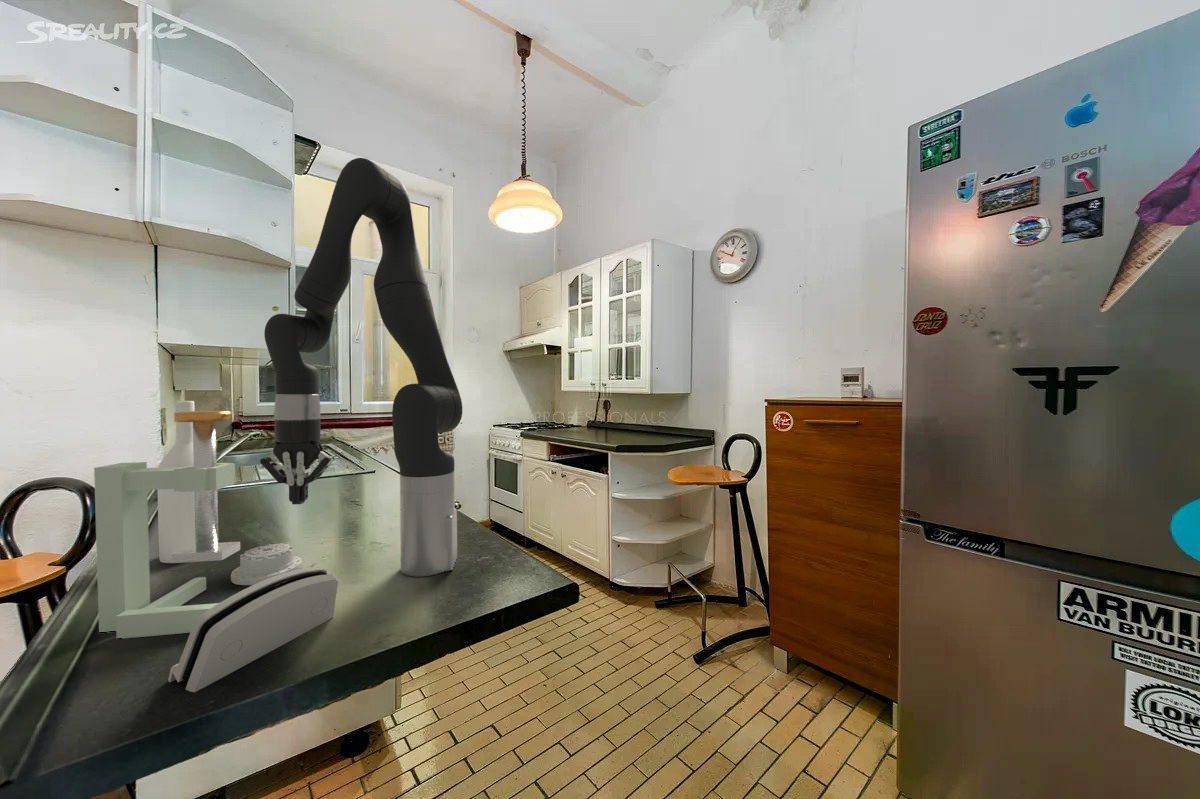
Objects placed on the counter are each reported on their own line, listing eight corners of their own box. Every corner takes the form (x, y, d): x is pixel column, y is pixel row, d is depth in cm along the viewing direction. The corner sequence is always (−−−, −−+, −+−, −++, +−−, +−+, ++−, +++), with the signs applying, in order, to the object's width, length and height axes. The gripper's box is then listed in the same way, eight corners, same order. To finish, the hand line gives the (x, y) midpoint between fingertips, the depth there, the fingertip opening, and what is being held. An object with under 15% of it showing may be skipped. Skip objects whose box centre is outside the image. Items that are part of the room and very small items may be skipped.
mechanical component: (215, 584, 73) (264, 589, 71) (214, 558, 73) (263, 563, 71) (271, 561, 83) (315, 565, 81) (270, 538, 83) (315, 541, 81)
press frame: (305, 582, 73) (303, 451, 73) (255, 626, 59) (252, 465, 59) (170, 591, 70) (166, 454, 69) (84, 641, 56) (79, 470, 55)
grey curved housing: (309, 610, 64) (325, 549, 63) (332, 626, 62) (348, 564, 61) (163, 683, 48) (180, 603, 47) (188, 707, 47) (207, 626, 45)
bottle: (147, 561, 82) (143, 401, 81) (195, 546, 90) (192, 400, 89) (180, 565, 80) (176, 401, 79) (227, 549, 88) (223, 400, 87)
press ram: (244, 547, 65) (241, 410, 65) (217, 562, 59) (213, 412, 59) (198, 549, 64) (195, 410, 64) (165, 566, 58) (161, 413, 58)
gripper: (341, 415, 92) (342, 497, 92) (271, 415, 89) (272, 499, 90) (326, 418, 84) (326, 507, 85) (249, 418, 82) (249, 509, 83)
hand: (298, 503), depth 87 cm, fingers closed
